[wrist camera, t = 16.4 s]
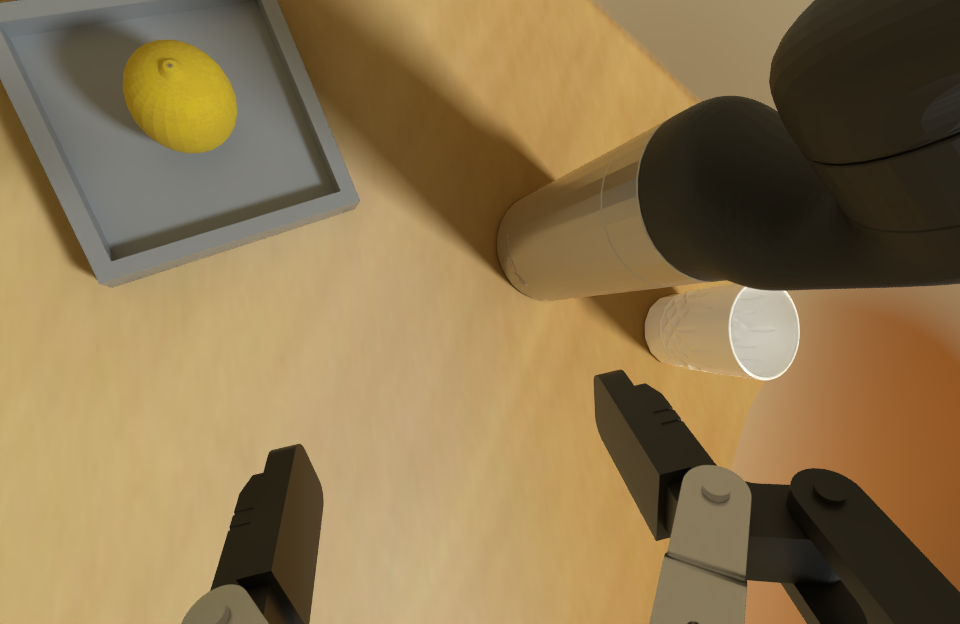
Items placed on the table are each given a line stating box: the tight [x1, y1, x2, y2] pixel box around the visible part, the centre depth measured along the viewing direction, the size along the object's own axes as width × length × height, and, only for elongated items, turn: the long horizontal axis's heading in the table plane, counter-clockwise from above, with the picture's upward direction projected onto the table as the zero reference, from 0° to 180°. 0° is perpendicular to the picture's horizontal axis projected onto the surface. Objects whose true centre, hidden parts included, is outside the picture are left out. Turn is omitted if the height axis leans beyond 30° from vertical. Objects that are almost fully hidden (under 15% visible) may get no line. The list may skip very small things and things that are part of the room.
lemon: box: [123, 39, 237, 154], centre depth 29 cm, size 6×6×8 cm
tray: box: [0, 0, 360, 287], centre depth 32 cm, size 16×16×2 cm
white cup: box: [645, 283, 800, 380], centre depth 43 cm, size 8×8×10 cm
